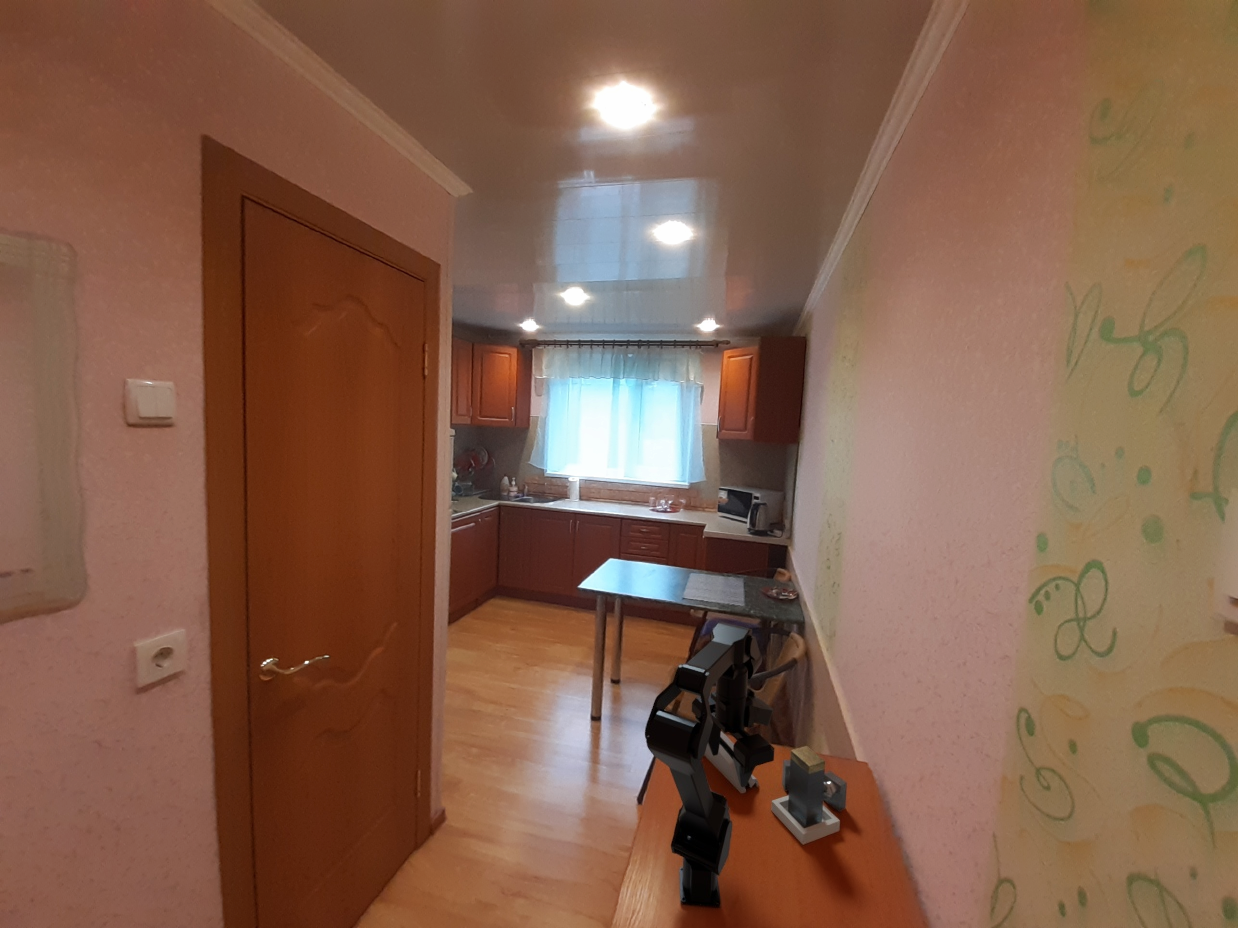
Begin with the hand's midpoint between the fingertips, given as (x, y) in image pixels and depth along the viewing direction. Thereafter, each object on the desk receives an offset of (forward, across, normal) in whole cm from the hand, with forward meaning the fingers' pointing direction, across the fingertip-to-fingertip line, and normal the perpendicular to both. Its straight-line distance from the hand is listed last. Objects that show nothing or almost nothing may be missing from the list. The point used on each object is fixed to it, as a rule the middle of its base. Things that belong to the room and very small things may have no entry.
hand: (728, 769), depth 96 cm
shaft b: (+13, +4, -20) cm, 24 cm away
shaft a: (+13, -2, -24) cm, 28 cm away
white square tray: (+13, -3, -16) cm, 21 cm away
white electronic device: (+14, +16, -10) cm, 23 cm away
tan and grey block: (+12, -3, -16) cm, 21 cm away
